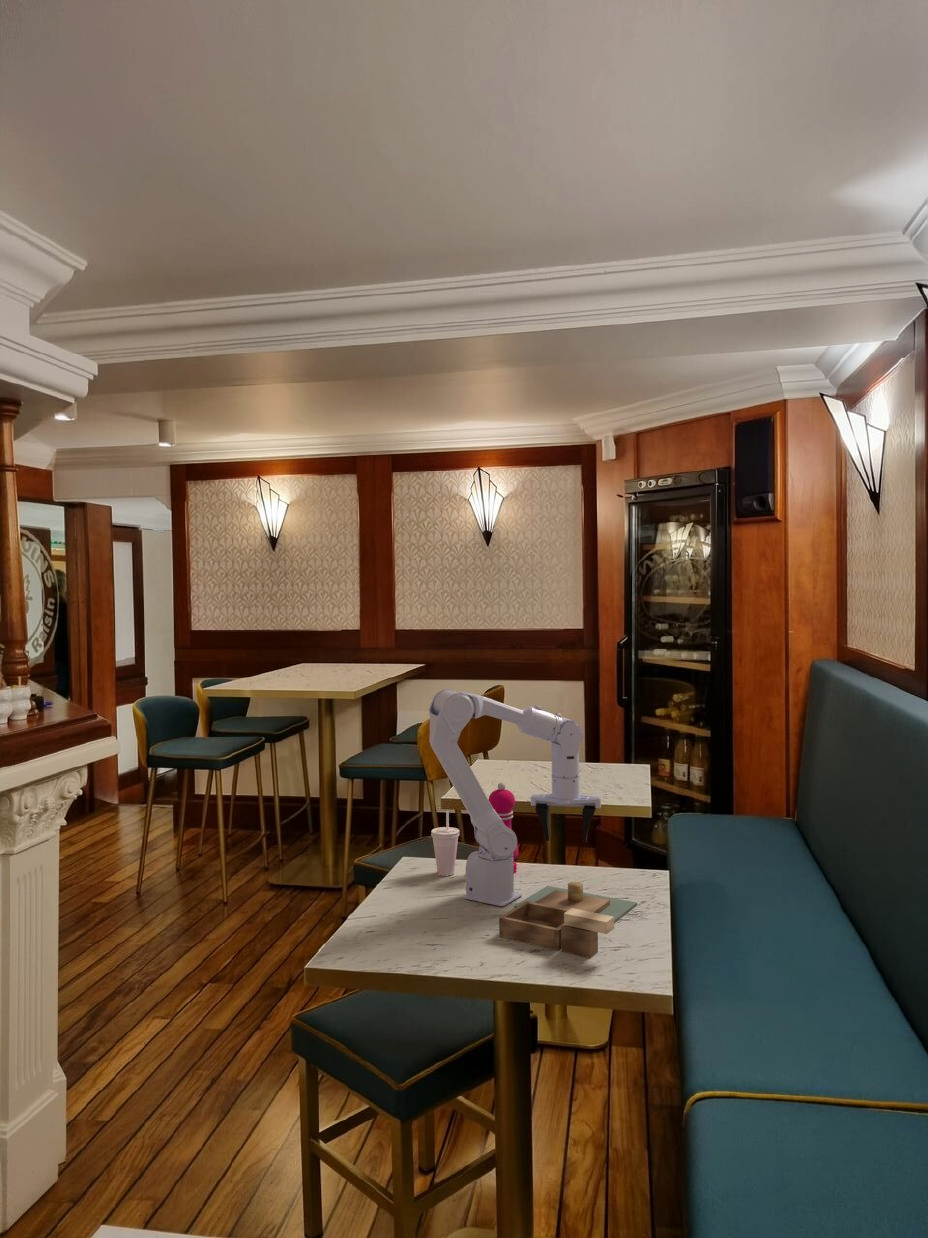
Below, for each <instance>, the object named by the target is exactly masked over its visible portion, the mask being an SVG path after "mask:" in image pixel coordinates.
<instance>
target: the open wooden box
mask: <svg viewBox="0 0 928 1238" xmlns="http://www.w3.org/2000/svg"><path fill="white" fill-rule="evenodd" d="M567 911H568V909H563V908H558V907H553V906H548V905H543V904H538V903H533V902H528V901H526V902H524V903H522V904H521V905H519V906H517V907H516V908H512V909H511V910H509V911H508V912H506V913H504V914H502V915H501V916H499V918H498V922H499V923H498V924H499V925H498V927H499V932H498V933H499V937H500V938H503V939H507V940H511V941H516V942H521V943H524V944H529V945H533V946H538V947H542V948H547V949H550V950H554V951H560V950H561V952H564V953H567V954H571V955H572V954H573V955H576V956H580V957H585V958H589V959H591V958H593V957H594V956H595V955H596V954H597V953H598V952H599V935H598V934H599V932H595V931H590V930H586V929H581V928H576V927H572V926H567V925H564V913H565V912H567Z"/></svg>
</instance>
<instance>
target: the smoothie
mask: <svg viewBox="0 0 928 1238" xmlns="http://www.w3.org/2000/svg"><path fill="white" fill-rule="evenodd" d="M445 813H446V814H445V817H446V818H445V823H446V824H445V825H446V826H442V827H441V826H440V827H435V828H433V829H432V830H431V831H430V832H431V834H430V836H431V837H432V841H433V849H434V856H435V863H436V865H435V866H436V871H437V875H438V876H440V875H442V876H441V877H448V876H447V875H451V874H454V875H455V869H456V860H457V859H456V858H457V852H458V840H459V836H460V829H459V828H456V827H450V823H449V822H450V816H449V815H450V812H449V810H445ZM451 876H452V875H451Z"/></svg>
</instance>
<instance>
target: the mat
mask: <svg viewBox="0 0 928 1238" xmlns="http://www.w3.org/2000/svg"><path fill="white" fill-rule="evenodd" d="M554 890H558V891H564V892H568V888H562V887H561V888H560V887H556V886H552V885H546V886H544V887H543V888H541V889H540V890H538V891H536V892H535V893H533V894H531V895H530V896H528V897H526V898H525V899H523V900H521V901H520V902H518V903H516V904H515V905H514V908H516V907H517V906H519V905H521V904H522V903H524V902H526V901H528V902H533V903H535V902H537V901H538V900H540V899H542V898H543V897H545V896H546V895H548V894H549V893H551V892H553V891H554ZM583 895H585V896H590V897H596V898H601V899H606V900H610V906H608V907H607V908H606V909H604V910H603V911H602V912H600V913H599V914H603V915H608V916H613V917H614V924H615V923H616V922H617V921H619V920H620V919H622V918H623V917H624V916H626V915H627V914H628V913H629V912H631V911H632V910H633V909H634V908H636V907H637V906H638V902H635V901H630V900H624V899H619V898H614V897H610V896H605V895H599V894H593V893H588V892H584V891H583ZM514 908H513V909H514Z"/></svg>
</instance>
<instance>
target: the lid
mask: <svg viewBox="0 0 928 1238" xmlns="http://www.w3.org/2000/svg"><path fill="white" fill-rule="evenodd" d="M567 889H568V892H564V891H558V890H554V891H553V892H551V893H549V894H548V895H546V896H545V897H543V898H542V899H540V900H538V901H537V902H535V903H538V904H543V905H548V906H553V907H558V908H563V909H568V910H570V909H571V908H574V909H579V910H584V911H589V912H594V913H598V914H599V913H600V912H602V911H603V910H604V909H606V908H607V907H608V906H610V900H606V899H601V898H596V897H590V896H585V895H583V892H584V883H582V882H579V881H570V882H568V883H567Z"/></svg>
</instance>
